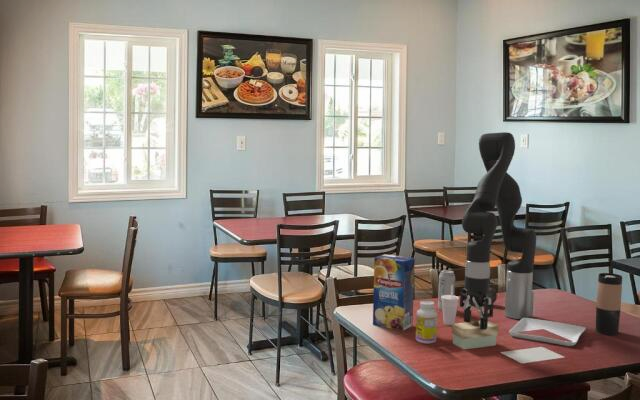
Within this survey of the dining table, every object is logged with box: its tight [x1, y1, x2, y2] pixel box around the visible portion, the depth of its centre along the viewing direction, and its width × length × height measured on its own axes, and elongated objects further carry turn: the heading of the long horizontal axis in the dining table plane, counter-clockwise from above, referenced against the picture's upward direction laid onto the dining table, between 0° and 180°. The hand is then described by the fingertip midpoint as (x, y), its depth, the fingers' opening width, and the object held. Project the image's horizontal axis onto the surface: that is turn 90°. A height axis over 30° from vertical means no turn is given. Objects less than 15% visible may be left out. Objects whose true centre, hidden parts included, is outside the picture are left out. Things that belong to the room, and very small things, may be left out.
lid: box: [451, 320, 499, 339], centre depth 202 cm, size 13×6×4 cm, turn 112°
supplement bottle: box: [415, 300, 438, 345], centre depth 208 cm, size 7×7×13 cm
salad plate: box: [508, 317, 587, 347], centre depth 215 cm, size 21×21×3 cm
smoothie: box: [441, 285, 460, 326], centre depth 228 cm, size 6×6×14 cm
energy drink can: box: [437, 269, 456, 312], centre depth 246 cm, size 6×6×15 cm
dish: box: [452, 334, 497, 350], centre depth 202 cm, size 12×6×4 cm, turn 112°
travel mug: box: [595, 272, 623, 336], centre depth 221 cm, size 8×8×20 cm
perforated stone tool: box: [459, 287, 498, 304], centre depth 257 cm, size 15×5×7 cm, turn 50°
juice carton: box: [372, 253, 416, 331], centre depth 224 cm, size 12×8×24 cm, turn 56°
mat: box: [500, 346, 565, 364], centre depth 194 cm, size 16×10×1 cm, turn 112°
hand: (475, 325), depth 202 cm, fingers open, 8 cm apart
